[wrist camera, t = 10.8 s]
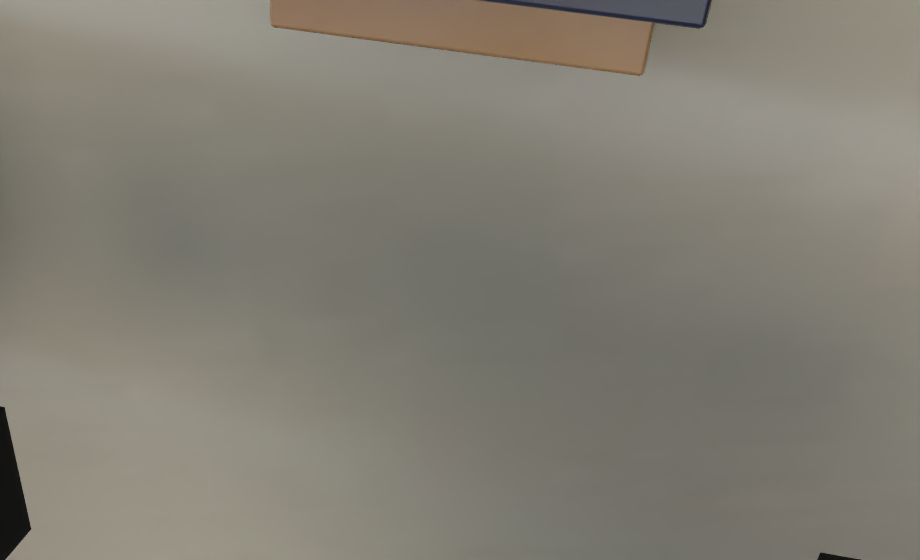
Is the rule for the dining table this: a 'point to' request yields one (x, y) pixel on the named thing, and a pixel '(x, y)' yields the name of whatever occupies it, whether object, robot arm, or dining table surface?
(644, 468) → the dining table surface
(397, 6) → the blue toy chair
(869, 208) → the dining table surface
